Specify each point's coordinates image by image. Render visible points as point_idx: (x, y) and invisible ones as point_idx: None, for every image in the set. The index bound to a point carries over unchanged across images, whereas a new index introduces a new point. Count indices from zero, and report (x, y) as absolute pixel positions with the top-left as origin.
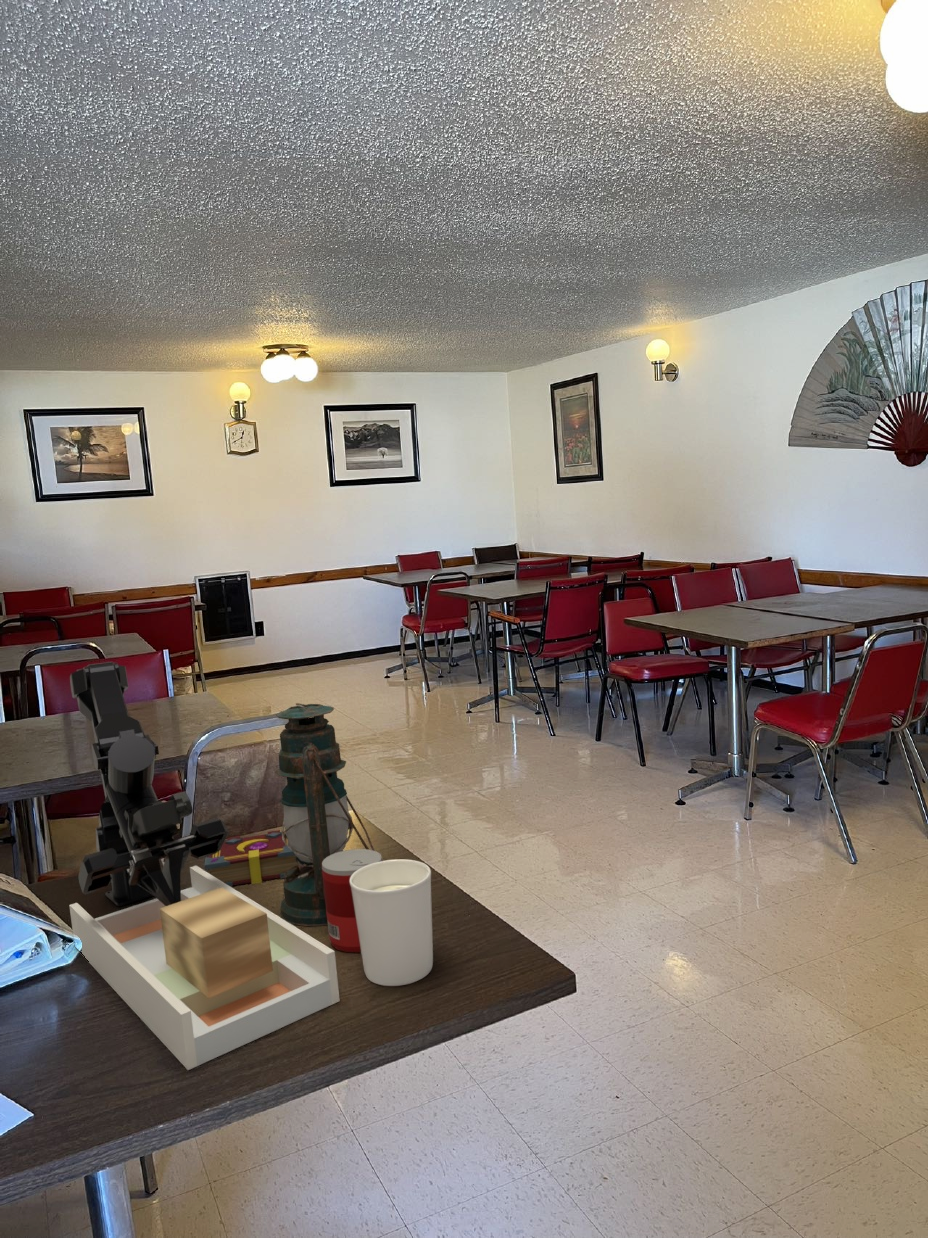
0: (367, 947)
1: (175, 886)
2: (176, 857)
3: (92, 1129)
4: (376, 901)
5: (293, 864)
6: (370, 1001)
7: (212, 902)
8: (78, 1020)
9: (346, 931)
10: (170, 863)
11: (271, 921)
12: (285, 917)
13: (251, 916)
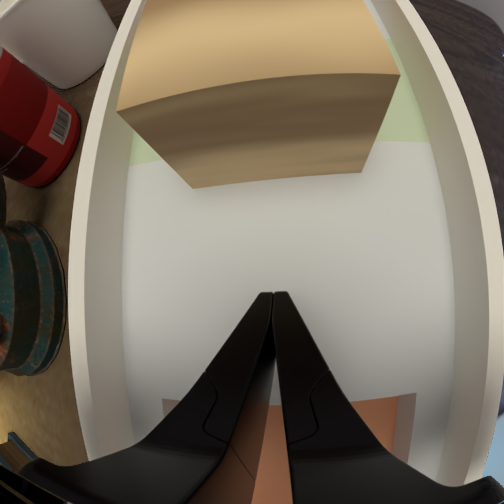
0: (101, 9)
1: (243, 355)
2: (134, 475)
3: (449, 6)
4: None
5: (10, 450)
6: None
7: (212, 12)
8: (498, 202)
9: (60, 99)
10: (200, 472)
11: (112, 93)
12: (60, 305)
13: None
